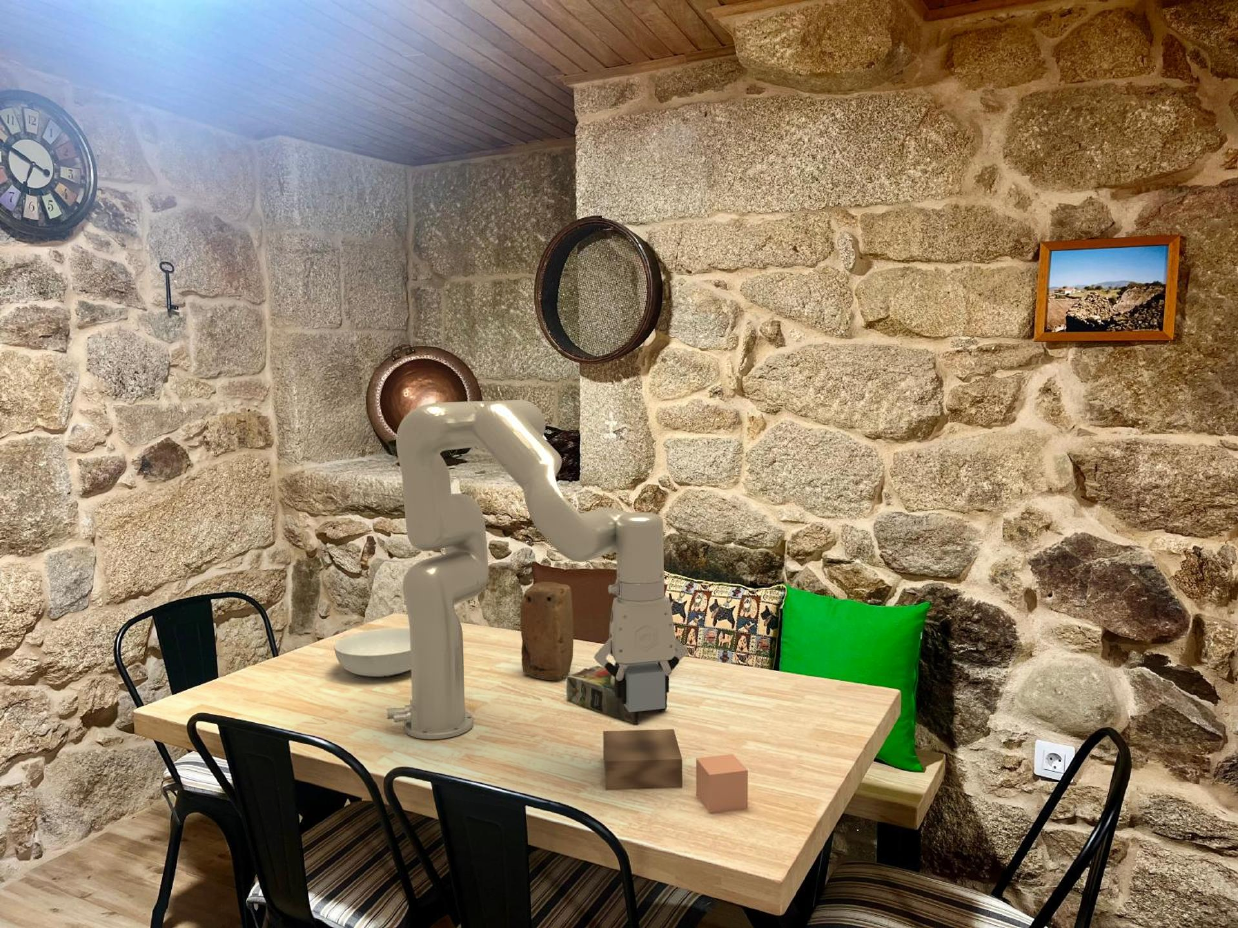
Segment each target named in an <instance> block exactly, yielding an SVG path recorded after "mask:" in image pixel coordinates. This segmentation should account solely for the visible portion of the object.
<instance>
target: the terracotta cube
mask: <svg viewBox="0 0 1238 928" xmlns="http://www.w3.org/2000/svg"><path fill="white" fill-rule="evenodd" d="M695 760H696V761H695V762H696V763H695V764H696V765H695V768H696V769H695V771H696V772H695V785H696V786H695V790H696V791H695V793H696V794H695V796H696V797H697V798H698V800H699V801H700V802H701V804H702V805H703V807H704V808H705V810H706V811H707V812H708V813H709V814H717V813H723V812H731V811H737V810H738V811H739V810H746V809H748V802H749V801H748V799H749V798H748V796H749V794H748V792H749V790H748V788H749V786H748V783H749V777H748V776H749V770H748V769H747V768H746V766H745V765H744V764H743V763H742V762H741V761H740V760H739V758H737V756H736V755H734V753H729V754H721V755H714V756H711V755H710V756H704V757H697V758H696V759H695Z"/></svg>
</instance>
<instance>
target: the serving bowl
mask: <svg viewBox="0 0 1238 928" xmlns="http://www.w3.org/2000/svg"><path fill="white" fill-rule="evenodd" d="M333 647H334V648H333V649H334V653H335V657H336V660H337V661H338V663H339V664H340V665H341V667H342V668H343V669H345V670H347V671H348V672H349V673H351V674H352V673H353V674H354V675H358V676H365V677H372V676H373V677H372V678H385V677H384V676H386V677H392V676H396V675H399V674H402V673H405V672H408V671H411V651H410V629H409V627H386V628H385V627H383V628H377V629H370V630H369V629H368V630H364V631H360V632H357V633H352V634H350V635H347V636H344V637H343V638H341V639H339V640H338V641H336V643H334V645H333ZM395 674H396V675H395ZM391 675H392V676H391Z"/></svg>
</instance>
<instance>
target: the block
mask: <svg viewBox="0 0 1238 928" xmlns="http://www.w3.org/2000/svg"><path fill="white" fill-rule="evenodd" d="M572 597H573V595H572V589H571V587H570V586H569V585H568V584H564V583H559V582H558V583H557V582H556V581H539V582H536V583H534V584H532V585H530V586H529V587H528V588H527V589H526V590H525V591H524V593H523V595H522V599H521V603H520V620H519V621H520V636H521V654H520V655H521V669H522V672H523V673H524V674H525V675H527V676H531V677H533V678H538V679H541V680H545V681H546V680H547V681H556V680H557V681H560V680H562V679H564V678H566V677H567V676H569V674H570V672H571V666H572V663H573V662H572V661H573V659H574V658H573V657H574V614H573V613H574V611H573V598H572Z"/></svg>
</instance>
